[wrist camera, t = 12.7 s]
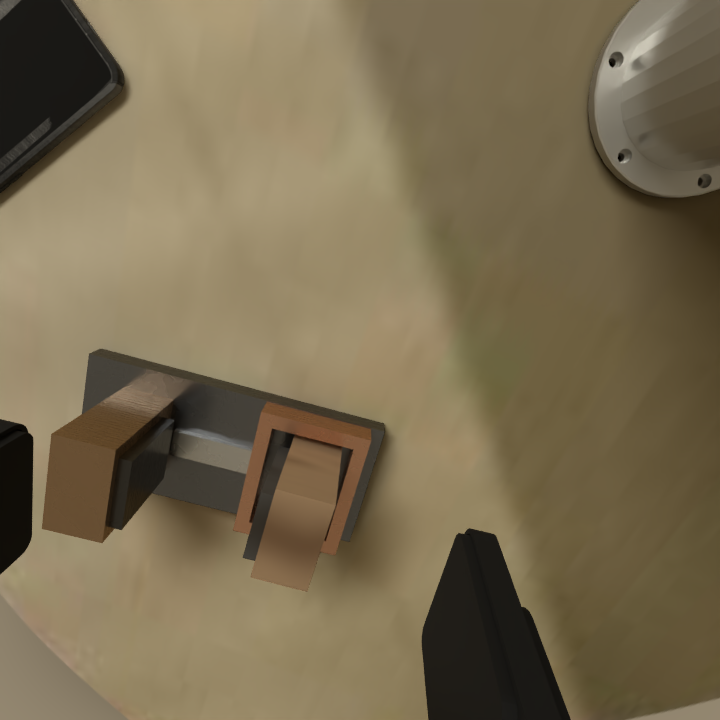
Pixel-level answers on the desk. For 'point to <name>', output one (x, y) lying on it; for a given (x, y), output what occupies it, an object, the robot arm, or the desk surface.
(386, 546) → the desk surface
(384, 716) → the desk surface
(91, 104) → the phone
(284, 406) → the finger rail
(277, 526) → the small cardboard box
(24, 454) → the robot arm
